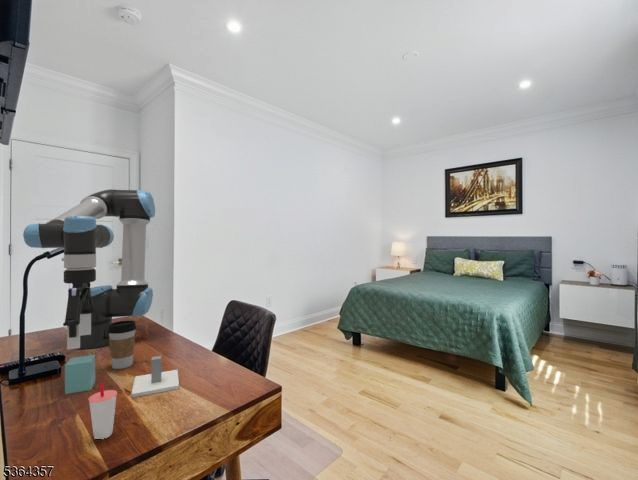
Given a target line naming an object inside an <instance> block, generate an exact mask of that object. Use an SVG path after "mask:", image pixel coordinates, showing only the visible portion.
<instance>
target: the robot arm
mask: <svg viewBox="0 0 638 480" xmlns="http://www.w3.org/2000/svg"><path fill="white" fill-rule="evenodd" d="M155 215H156V207H155V201H154V198H153V195H152V194H151V193H150V192H149V191H147V190H139V189H135V190H134V189H105V190H101V191H98V192H94V193H91V194H89V195H87V196H85V197H84V198H82V199H81V201H80V203H78V204H77V205H75V206H74V207H72V208H70V209H69V210H67V211H64V212H63V213H61V214H59V215H58V216H56V217H54V218H53V219H51V220H49V221H47V222H46V223H30V224H28V225H27V226H25V228H24V230H23V233H22V235H23V236H22V237H23V240H24V243H25V244H26V245H27V246H28V247H30V248H34V249H35V248H38V249H39V248H40V249H63V257H61V261H62V262H63V268H64V269H65V270H63V282H64V283H65V284H71V285H72V286H71V287H70V288H68V290H67V292H68V294H67V295H68V296H67V304H66V312H65V316H64V317H65V318H64V322H63V323H62V326H63V327H67V328H66V331H67V332H66V350H75V349H77V350H89V349H90V350H91V349H96V348H102V347H106V346H108V345H109V346H110V344H109V333H108V329H109V325H110V324H111V323H113V318H118V317H119V318H120V317H137V316H138V317H139V316H144V315H147V313H148V312H149V310H150V309H151V306H152V303H153V298H154V297H153V295H154V291H153V290H154V289H153V288H152V287H149V282H147V281H146V280H145V275H146V274H145V273H146V272H145V271H146V270H145V269H146V267H145V266H146V239H147V234H146V233H147V225H148V224H149V223H151V219H152V218H154V217H155ZM104 217H117V218H118V220H119V222H120V223H122V225H123V226H122V244H121V245H122V247H121V248H122V250H121V275H120V276H121V277H120V279H121V280H120V281H119V282H117V284H116V288H113V286H112V285H111V284H110V285H107V284H106V285H100V286H94V287H91V283H93V282H95V281H96V280H97V270H96V269H95V268H96V267H97V248H98V249H99V248H100V249H103V248H105V247H108V246H111V244H112V242H113V241H114V240H115V239H114V237H115V235H114V231H113V230H112V229H111V228H110V227H108V226H106V225H103V224H97V220H99V219H103V218H104Z"/></svg>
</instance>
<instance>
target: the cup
mask: <svg viewBox="0 0 638 480" xmlns="http://www.w3.org/2000/svg"><path fill="white" fill-rule="evenodd" d="M104 387H105V386H104V382H101V383H100V384H99V389H100V390H99V391H98V392H96V393H94V394H92V395H91V396H89V397H88V399H87V400H88V402H89V411H90V418H91V419H90V420H91V427H92V432H93V439H94V440H95V439H102V440H105V439H107V438H109V437H110V436H112V435H113V429H114V423H115V413H116V412H115V411H116V405H117V404H116V402H117V395H118V391H117V390H115V389H114V390H113V389H107V390H105V389H104ZM104 438H105V439H104Z"/></svg>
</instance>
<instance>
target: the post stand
mask: <svg viewBox="0 0 638 480" xmlns="http://www.w3.org/2000/svg"><path fill="white" fill-rule="evenodd" d="M150 360H151V362H150V366H151V367H150V368H151V371H150V372H151V373H149V374H148V373H147V374H142V375H136V376H135V377H134V382H133V385H132V389H131V390H132V391H131V399H133V398H137V397H144V396H148V395H153V394H158V393H163V392H164V393H165V392H169V391H175V390H178V389H180V385H179V382H180V381H179V371H178V370H179V369H178V368H177V369H172V370H167V371H162V355H157V356H156V355H155V356H151V359H150Z"/></svg>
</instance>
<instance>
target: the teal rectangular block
mask: <svg viewBox="0 0 638 480" xmlns="http://www.w3.org/2000/svg"><path fill="white" fill-rule="evenodd" d="M95 383H96V354H91V355H83V356H77V357H76V356H75V357H70V358H69V360H68V361H67V363H65V365H64V394H65V395H70V394H75V393H81V392H87V391H91V390H92V389H93V386H94V385H95Z"/></svg>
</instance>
